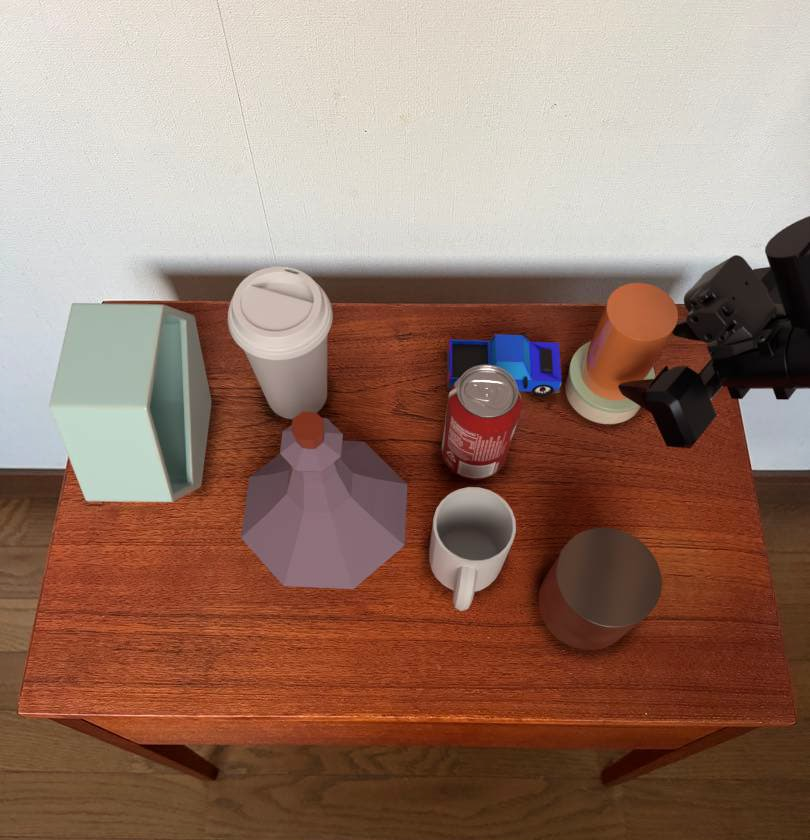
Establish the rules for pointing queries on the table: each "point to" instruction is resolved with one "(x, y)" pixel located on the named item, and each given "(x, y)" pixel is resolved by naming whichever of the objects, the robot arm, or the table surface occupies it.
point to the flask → (324, 508)
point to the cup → (470, 541)
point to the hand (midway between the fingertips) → (646, 359)
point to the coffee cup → (284, 337)
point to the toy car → (509, 361)
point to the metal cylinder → (599, 588)
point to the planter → (132, 402)
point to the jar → (596, 396)
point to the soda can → (480, 421)
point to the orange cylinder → (628, 338)
